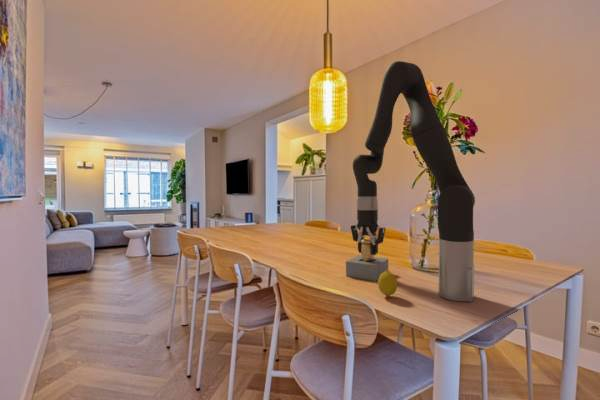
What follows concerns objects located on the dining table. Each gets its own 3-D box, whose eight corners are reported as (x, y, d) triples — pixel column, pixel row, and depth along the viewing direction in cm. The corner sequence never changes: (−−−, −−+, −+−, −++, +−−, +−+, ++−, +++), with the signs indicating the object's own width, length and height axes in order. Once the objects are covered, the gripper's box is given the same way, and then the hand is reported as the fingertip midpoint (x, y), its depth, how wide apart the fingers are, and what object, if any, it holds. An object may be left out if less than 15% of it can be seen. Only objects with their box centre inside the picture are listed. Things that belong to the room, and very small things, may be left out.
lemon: (374, 295, 95) (374, 269, 95) (389, 292, 97) (388, 267, 97) (386, 301, 90) (386, 274, 90) (401, 298, 92) (401, 271, 92)
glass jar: (377, 269, 117) (377, 240, 117) (369, 271, 113) (370, 241, 113) (364, 266, 121) (365, 238, 120) (357, 269, 117) (357, 239, 116)
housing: (388, 272, 119) (388, 258, 118) (377, 281, 109) (377, 265, 109) (359, 268, 125) (359, 255, 125) (346, 275, 116) (345, 261, 115)
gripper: (389, 208, 114) (390, 254, 114) (356, 207, 124) (357, 249, 124) (379, 209, 108) (379, 258, 109) (345, 208, 118) (346, 252, 119)
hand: (367, 253), depth 117 cm, fingers closed on glass jar, 5 cm apart
